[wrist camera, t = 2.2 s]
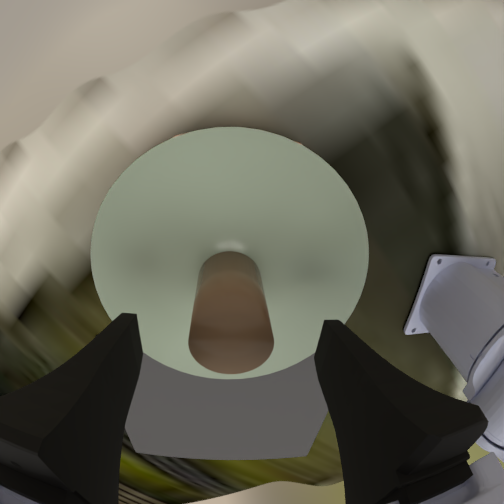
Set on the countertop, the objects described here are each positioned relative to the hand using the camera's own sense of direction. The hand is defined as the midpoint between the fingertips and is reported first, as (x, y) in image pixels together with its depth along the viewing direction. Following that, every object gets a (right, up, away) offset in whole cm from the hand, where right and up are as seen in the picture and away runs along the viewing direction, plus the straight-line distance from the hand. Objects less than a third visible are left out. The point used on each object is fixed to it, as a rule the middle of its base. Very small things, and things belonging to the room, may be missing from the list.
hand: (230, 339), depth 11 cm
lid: (0, +2, +5) cm, 5 cm away
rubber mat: (-2, -13, +17) cm, 21 cm away
